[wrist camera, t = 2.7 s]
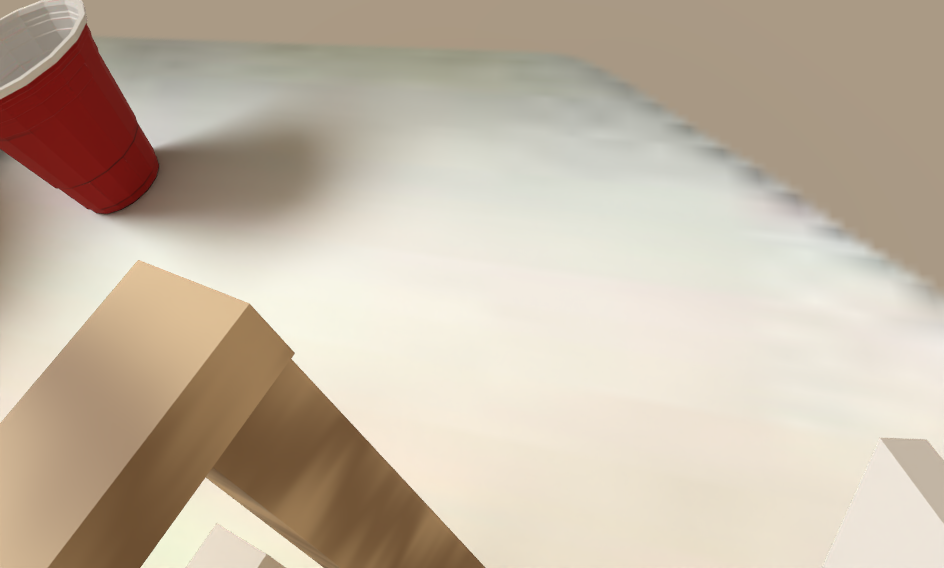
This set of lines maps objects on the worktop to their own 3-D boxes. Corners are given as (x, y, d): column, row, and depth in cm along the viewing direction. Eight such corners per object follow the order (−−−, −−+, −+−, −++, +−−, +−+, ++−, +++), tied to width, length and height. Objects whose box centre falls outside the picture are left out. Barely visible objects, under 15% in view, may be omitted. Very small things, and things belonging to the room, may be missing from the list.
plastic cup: (213, 112, 63) (105, -31, 54) (161, 232, 57) (29, 92, 48) (92, 135, 67) (-28, 4, 58) (31, 250, 61) (-113, 123, 52)
